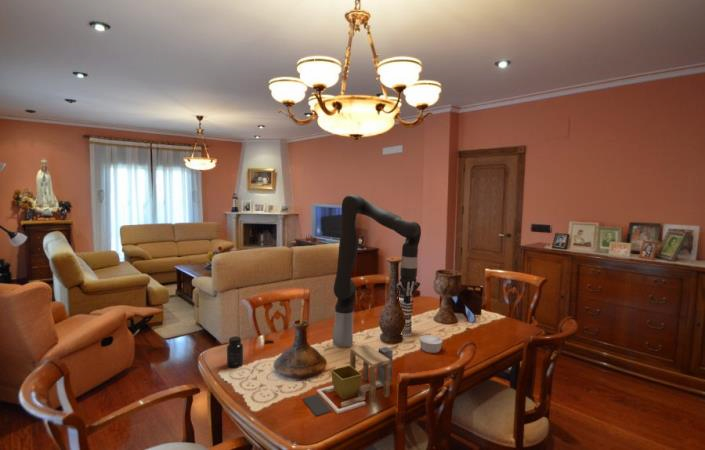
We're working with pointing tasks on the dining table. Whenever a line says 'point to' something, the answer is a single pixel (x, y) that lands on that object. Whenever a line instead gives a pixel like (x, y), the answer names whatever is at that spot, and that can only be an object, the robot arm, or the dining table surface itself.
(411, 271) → the robot arm
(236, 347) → the supplement bottle
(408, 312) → the striped vase
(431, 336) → the ramekin
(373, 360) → the oak bridge
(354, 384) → the flower pot
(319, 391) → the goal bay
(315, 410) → the mat
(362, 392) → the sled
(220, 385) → the dining table surface
